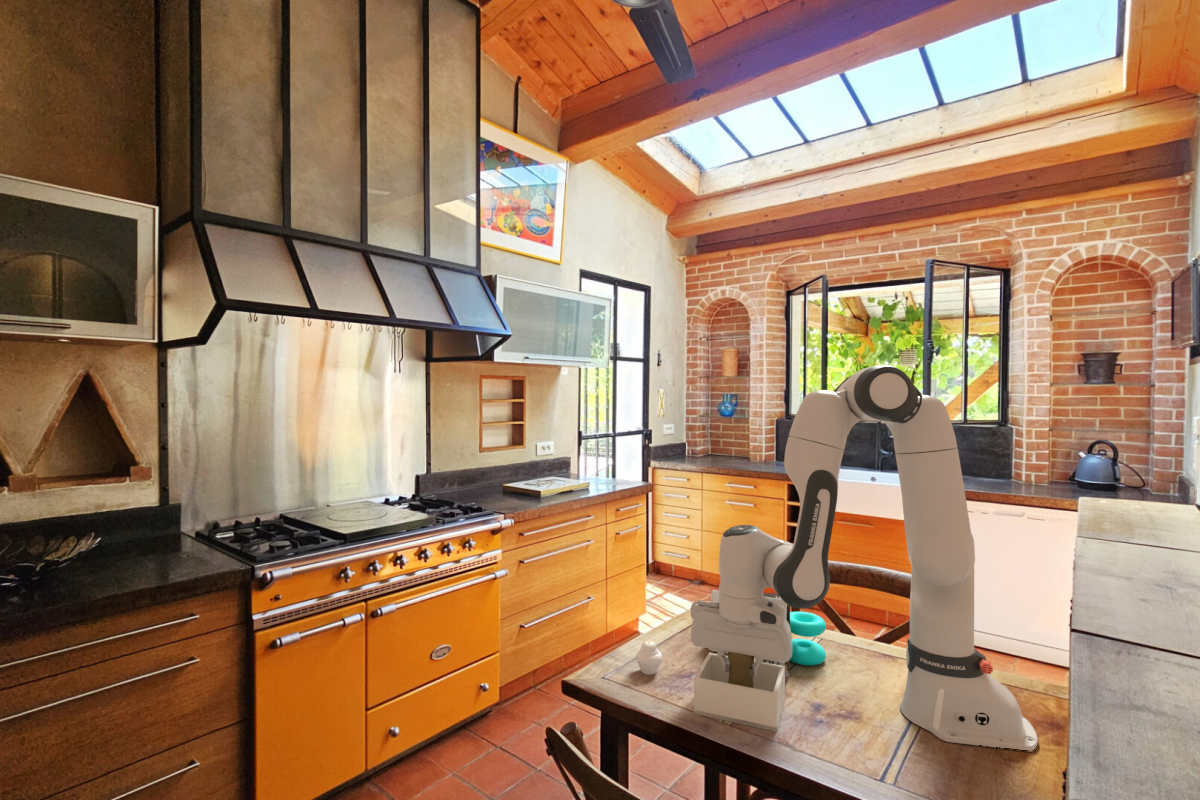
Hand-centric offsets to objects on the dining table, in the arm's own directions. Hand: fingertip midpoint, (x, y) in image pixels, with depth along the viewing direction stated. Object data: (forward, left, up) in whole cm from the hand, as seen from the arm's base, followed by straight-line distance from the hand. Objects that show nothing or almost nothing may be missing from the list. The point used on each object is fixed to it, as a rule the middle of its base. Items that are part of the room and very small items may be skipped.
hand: (740, 673), depth 121 cm
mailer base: (0, 0, -7) cm, 7 cm away
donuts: (-10, -29, -7) cm, 31 cm away
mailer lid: (0, -8, +7) cm, 10 cm away
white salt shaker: (+22, -7, -7) cm, 24 cm away
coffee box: (-4, -21, -7) cm, 22 cm away
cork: (0, 0, -6) cm, 6 cm away
